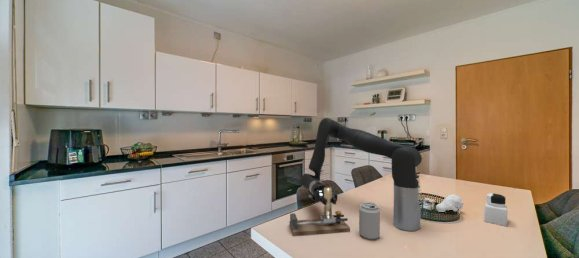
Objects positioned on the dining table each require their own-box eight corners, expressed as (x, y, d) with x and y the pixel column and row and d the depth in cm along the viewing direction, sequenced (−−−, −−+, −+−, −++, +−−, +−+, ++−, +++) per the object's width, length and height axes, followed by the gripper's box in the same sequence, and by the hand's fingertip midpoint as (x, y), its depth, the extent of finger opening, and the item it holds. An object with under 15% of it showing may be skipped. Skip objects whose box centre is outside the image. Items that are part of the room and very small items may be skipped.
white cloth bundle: (464, 196, 105) (441, 199, 103) (465, 213, 105) (443, 217, 103) (452, 192, 111) (431, 195, 109) (454, 208, 111) (432, 212, 110)
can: (377, 242, 80) (377, 209, 80) (356, 237, 84) (356, 205, 84) (381, 234, 86) (381, 203, 86) (361, 229, 90) (361, 200, 90)
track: (340, 220, 98) (340, 207, 98) (350, 231, 88) (350, 216, 88) (289, 224, 95) (289, 210, 94) (293, 236, 85) (293, 220, 85)
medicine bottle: (506, 221, 97) (507, 194, 97) (507, 226, 92) (507, 198, 92) (484, 216, 102) (485, 191, 102) (484, 221, 97) (484, 194, 97)
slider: (343, 217, 95) (343, 185, 95) (347, 221, 91) (347, 188, 91) (320, 218, 94) (320, 186, 93) (323, 223, 89) (323, 190, 89)
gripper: (304, 182, 105) (313, 193, 88) (332, 181, 107) (346, 192, 90) (304, 198, 105) (313, 212, 88) (332, 196, 107) (346, 210, 90)
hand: (330, 202), depth 89 cm, fingers closed on slider, 3 cm apart
